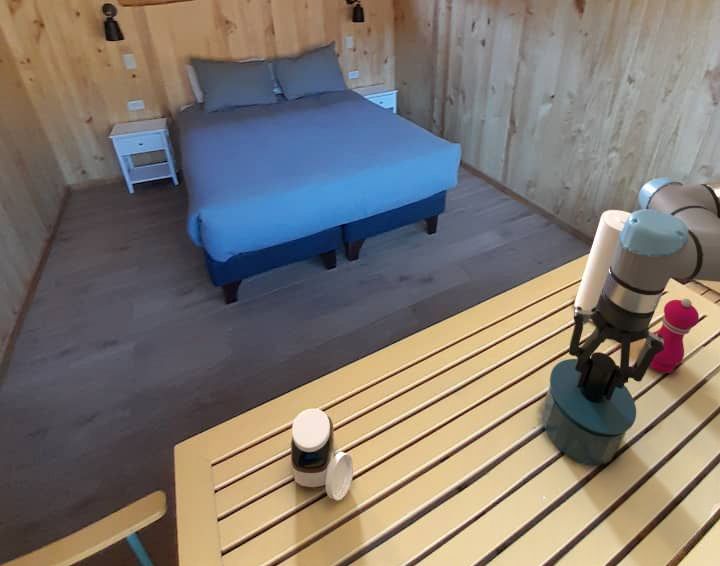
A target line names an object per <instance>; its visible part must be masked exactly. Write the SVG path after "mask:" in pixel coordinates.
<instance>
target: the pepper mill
mask: <svg viewBox="0 0 720 566" xmlns="http://www.w3.org/2000/svg"><path fill="white" fill-rule="evenodd" d="M663 313H664V314H663V317H662V318H661V322H662V326H661V327H660V328H659V329H658V330H656V331H654V332H652V333H653V334H654V335H655V334H660V335H662V336H663V341H664V350H662V351H661V352H659V353H658V354H656V355H655V357H654V359H653V360H652V362H651V364H650V366H649V368H651V369H653V370H654V371H656V372H659V373H662V374H671V373H673V372H674V371H675V369H676V367H677V365H679V364H680V363H681V362H683V360H684V356H685V347H684V336H685V335H688V334H689V333H690V331H691V329H692V328H693V327H695V326H696V325H697V324H698V322H699V320H700V315H699V312H698V310H697V309H696V307H695V306H693V305H692V301H691V300H690V299H689V298H682V299H671V300H669V301H667V302H666V303H665V305H664V307H663Z"/></svg>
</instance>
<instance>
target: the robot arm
mask: <svg viewBox="0 0 720 566" xmlns="http://www.w3.org/2000/svg"><path fill="white" fill-rule="evenodd" d="M637 199H638V203H639V206H640V207H641V208H642V209H637V210H635V211H633V212H632V213H631V214H630V216H629V217H628V219H627V221H626V222H625V224H624V227H623V229H622V232H620V235H619V241H618V244H617V247H616V250H615V253H614V256H613V259H612V262H611V266H610V269H609V271H608V274H607V277H606V280H605V283H604V286H603V289H602V291H601V294H600V297H599V300H598V303H597V305H596V307H594V308H592V310H591V311H585V310H582V308H581V307H578V306H577V307H575V306H574V312H573V321H574V326H573V329H572V333H571V338H570V342H569V347H568V354H569V355H570V356H572V357H576V359H577V360H576V364H575V370H576V371H578V372H579V374H578V381H577V387H578V388H582V385H583V383H584V380H585V377H586V375H587V372H588V369H589V366H590V358H591V356H592V354H593V353H595V352H596V351H597V350H598V348H599V347H600V345H601V344H603V343H605V342H606V340H612V341H614V342H616V343H618V344H620V345H621V346H620V362H619V363H620V364H619V365H617V364H616V370H615V372H614V375H613V377H612V379H611V382H610V384H609V387H608V389H607V392H606V394H605V399H606V400H609V401H610V399H611V397H612V395H613V392H614V390H615V388H616V387H617V388H620V389H622V388H623V386H624V385H625V384H628V383H629V379H633V380H634V381H635V382H638V383H639V382H642V380H643V379H644V377H645V376H646V373H647V371H648V370H649V368H650V364H651V362H652V360H653V359H654V357H655V355H656V354H658V353H659V352H661V351H662V350H664V341H663V336H662V335H660V334H655V335H654V334H653V332H651V331H650V329H649V326H650V324H651V322H652V319H653V316H654V315H655V311H656V309H657V308H658V305H659V303H660V301H661V298H662V296H663V293H664V292H665V289H666V287H667V285H668V283H669V281H670V279H681V280H695V281H706V282H715V283H716V282H717V283H720V181H712V182H705V183H699V184H697V183H696V184H689V185H687V184H686V185H684V184H683V183H682V182H680V181H678V180H676V179H673V178H670V177H665V176H664V177H657V178H654V179H651V180H649V181H647V182H646V183H645V184H644V185H643V186H642V187H641V189H640V190H639V193H638V197H637ZM589 319H592V321H593V322H592V323H593V324H594V326H595V328H594V330H593V331H592V332H591V333H590V335H589V336H588V338H587V339H586V340H585V342H584V343H583V344H582V345H580V342H581V339H582V334H583V331H584V326H585V325H586V324H588V322H589ZM641 340H645V341H644V344H643V346H642V348H641V350H640V352H639V354H638V356H637V358H636V359H635V361H634V364H633V366H630V358H631V357H630V355H631V344H632V343H635V342H638V341H641Z"/></svg>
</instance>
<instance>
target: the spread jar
mask: <svg viewBox="0 0 720 566" xmlns="http://www.w3.org/2000/svg"><path fill="white" fill-rule="evenodd" d="M335 443H336V442H335V431H334V423H333V420H332V418H331V417H330V416H329V415H327V414H326V413H325V411H323V410H321V409H319V408H308V409H305V410H303V411H301V412H300V413H299V414H298V415H297V416H296V417H295V419H294V421H293V422H292V426H291V442H290V461H291V469H292V474H293V479H294V481H295V482H296V483H297V484H298V485H300V486H303V487H306V488H317V487H323V486H325V491H326V494H327V497H329V498H330V499H333V500H335V501H341V500H342V499H344V498H345V496H347V493H348V492H349V490H350V488H351V484H352V481H353V475H354V461H353V458H352V456H351V454H349V453H346V452H344V451H339V452H337V453H336V445H335Z"/></svg>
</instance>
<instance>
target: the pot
mask: <svg viewBox="0 0 720 566" xmlns="http://www.w3.org/2000/svg"><path fill="white" fill-rule="evenodd" d="M541 420H542V425H543V427H544V431H545V432H546V434H547V436H548V438H549V439H550V441H551V442H552V443H553V444H554V446H555V447H556V448H557V449H558V450H559V451H560V452H561V453H563V454H564V455H565V456H566V457H568V458H570V459H571V460H572V461H575V462H577V463H579V464H583V465H586V466H593V467H596V466H597V467H598V466H603V465H606V464H608V463H609V462H611V461H612V459H613V458H614V456H615V455H616V454H617V452H618V450H619V448H620V446H621V444H622V442H623V439H624V438H625V436H626V433H627V431H626V432H624V433H621V434H615V435H609V434H602V433H598V432H595V431H592V430H590V429H588V428H586V427H583V426H581V425H579V424H578V423H577V422H576V421H574V420H573V419H572V418H571V417H570V416H568V415H567V414H566V413H565V412H564V410H563V409H562V408H561V407H560V406H559V404H558V403H557V401H556V400H555V398H554V396H553V393H552V391H551V387H550V385H549V386H548V390H547V392H546V396H545V399H544V403H543V407H542V411H541Z"/></svg>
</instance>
